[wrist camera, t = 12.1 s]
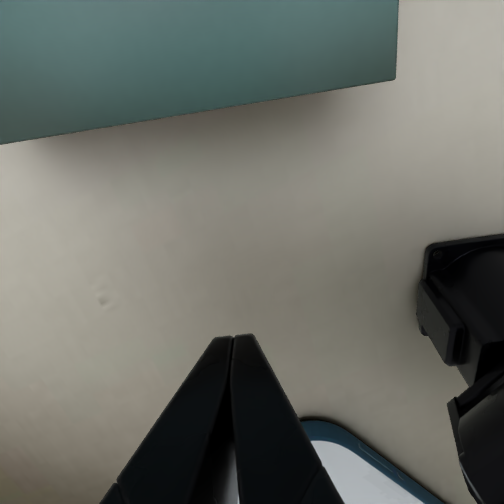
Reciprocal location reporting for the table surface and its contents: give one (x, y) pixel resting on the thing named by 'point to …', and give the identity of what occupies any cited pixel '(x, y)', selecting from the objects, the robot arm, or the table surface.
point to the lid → (179, 57)
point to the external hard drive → (362, 469)
